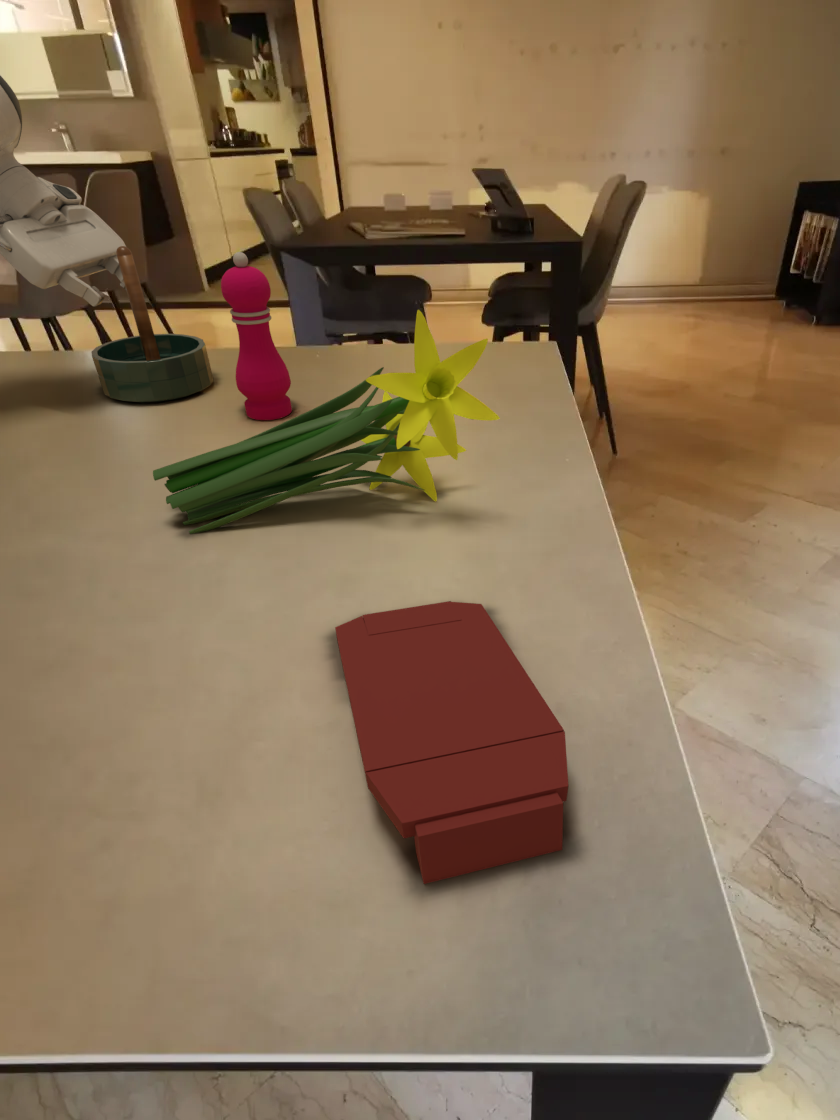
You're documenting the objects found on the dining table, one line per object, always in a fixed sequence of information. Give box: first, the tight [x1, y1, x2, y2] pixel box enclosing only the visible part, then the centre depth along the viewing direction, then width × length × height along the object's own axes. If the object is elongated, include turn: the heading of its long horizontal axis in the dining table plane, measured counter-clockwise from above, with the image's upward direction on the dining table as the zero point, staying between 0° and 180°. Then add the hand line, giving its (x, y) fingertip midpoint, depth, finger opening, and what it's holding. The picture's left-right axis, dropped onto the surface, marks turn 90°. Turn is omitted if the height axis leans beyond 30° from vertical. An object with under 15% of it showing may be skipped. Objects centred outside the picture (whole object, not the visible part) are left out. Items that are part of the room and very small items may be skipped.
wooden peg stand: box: [116, 246, 161, 361], centre depth 101 cm, size 6×6×18 cm
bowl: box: [91, 333, 214, 403], centre depth 105 cm, size 16×16×6 cm
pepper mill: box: [220, 251, 293, 421], centre depth 92 cm, size 7×7×20 cm
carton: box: [334, 600, 569, 885], centre depth 49 cm, size 12×5×25 cm
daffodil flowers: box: [152, 309, 501, 535], centre depth 71 cm, size 17×15×35 cm
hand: (118, 295), depth 99 cm, fingers open, 8 cm apart
